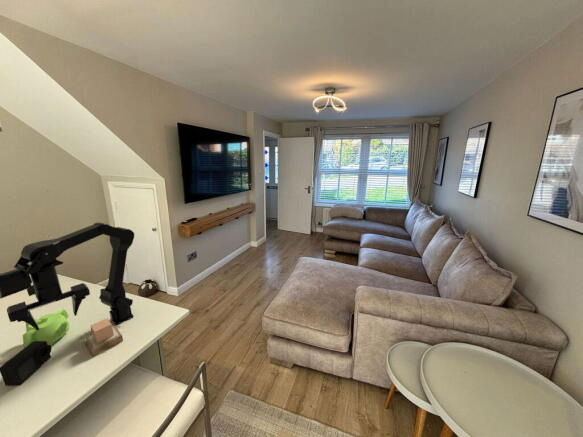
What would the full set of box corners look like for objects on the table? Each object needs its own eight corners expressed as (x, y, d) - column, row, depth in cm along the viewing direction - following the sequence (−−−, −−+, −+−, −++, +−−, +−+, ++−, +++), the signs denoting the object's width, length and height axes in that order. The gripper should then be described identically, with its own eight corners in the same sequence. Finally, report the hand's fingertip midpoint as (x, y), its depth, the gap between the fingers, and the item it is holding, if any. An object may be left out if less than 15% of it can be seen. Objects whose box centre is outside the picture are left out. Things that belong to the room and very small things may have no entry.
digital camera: (24, 385, 72) (17, 367, 70) (5, 386, 72) (-2, 368, 70) (55, 357, 82) (50, 340, 80) (38, 357, 81) (33, 340, 80)
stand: (114, 329, 95) (113, 324, 94) (123, 340, 90) (122, 334, 89) (86, 343, 88) (84, 337, 87) (93, 355, 83) (91, 349, 82)
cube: (113, 335, 88) (111, 324, 87) (97, 343, 85) (94, 331, 83) (109, 329, 91) (106, 318, 90) (93, 336, 88) (90, 325, 86)
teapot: (26, 357, 81) (18, 334, 79) (28, 338, 89) (21, 316, 86) (72, 339, 89) (67, 317, 87) (71, 323, 97) (65, 303, 94)
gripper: (77, 263, 88) (85, 300, 92) (-2, 284, 74) (13, 326, 78) (85, 273, 82) (94, 312, 86) (1, 298, 67) (17, 343, 72)
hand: (57, 322), depth 81 cm, fingers open, 9 cm apart
